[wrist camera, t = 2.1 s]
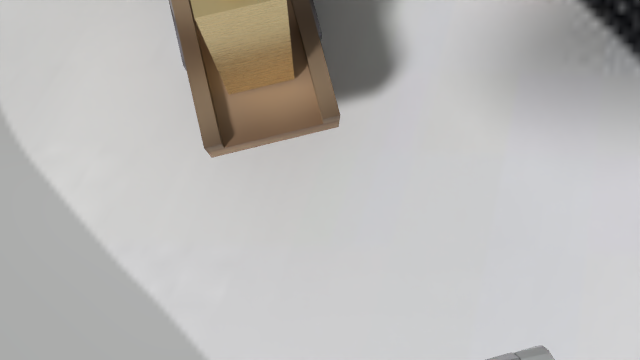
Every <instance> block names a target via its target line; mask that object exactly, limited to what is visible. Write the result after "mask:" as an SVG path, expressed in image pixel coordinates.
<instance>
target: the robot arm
mask: <svg viewBox="0 0 640 360" xmlns="http://www.w3.org/2000/svg"><path fill="white" fill-rule="evenodd" d="M487 360H554V358H553V356H552V355H551V353H550V352H549V350H547V349H546V348H545V347H544V346H540V345H539V346H535V347H532V348H528V349H525V350H521V351H518V352H514V353H512V352H511V353H507V354H504V355H500V356H497V357H493V358H490V359H487Z"/></svg>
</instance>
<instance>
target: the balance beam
mask: <svg viewBox="0 0 640 360" xmlns="http://www.w3.org/2000/svg"><path fill="white" fill-rule="evenodd" d="M169 3H170V8H171V12H172V17H173V21H174V26H175V30H176V35H177V39H178V44H179V48H180V53H181V57H182V62H183V66H184V67H185V69H186V71H187V74H188V78H189V83H190V87H191V91H192V96H193V100H194V105H195V109H196V114H197V118H198V123H199V127H200V132H201V136H202V141H203V145H204V148H205V150H206V151H207V152H208V153H209V155H210V156H211V157H216V156H220V155H224V154H229V153H233V152H237V151H241V150H245V149H249V148H253V147H257V146H261V145H265V144H270V143H274V142H278V141H282V140H286V139H290V138H294V137H298V136H302V135H307V134H311V133H315V132H319V131H323V130H327V129H331V128H335V127H339V120H340V112H339V109H338V105H337V101H336V98H335V94H334V90H333V86H332V83H331V79H330V75H329V72H328V68H327V64H326V60H325V57H324V53H323V49H322V46H321V42H320V39H321V36H322V33H321V29H320V25H319V22H318V18H317V14H316V10H315V7H314V3H313V0H287V9H288V19H289V29H290V39H291V49H292V59H293V69H294V79H293V80H289V81H285V82H280V83H276V84H272V85H268V86H264V87H259V88H255V89H251V90H247V91H243V92H238V93H234V94H230V95H229V94H228V92H227V90H226V88H225V85H224V83H223V81H222V79H221V76H220V74H219V72H218V70H217V67H216V65H215V63H214V61H213V58H212V56H211V54H210V52H209V50H208V47H207V45H206V43H205V41H204V38H203V36H202V34H201V32H200V29H199V27H198V25H197V23H196V20H195V18H194V14H193V10H192V5H191V1H190V0H169Z"/></svg>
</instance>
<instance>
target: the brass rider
mask: <svg viewBox="0 0 640 360" xmlns="http://www.w3.org/2000/svg"><path fill="white" fill-rule="evenodd" d="M190 1H191V5H192V10H193V14H194V18H195V20H196V23H197V25H198V27H199V29H200V32H201V34H202V36H203V38H204V41H205V43H206V45H207V47H208V50H209V52H210V54H211V56H212V58H213V61H214V63H215V65H216V67H217V70H218V72H219V74H220V76H221V79H222V81H223V83H224V85H225V88H226V90H227V92H228V94H229V95H230V94H234V93H238V92H243V91H247V90H251V89H255V88H259V87H264V86H268V85H272V84H276V83H280V82H285V81H289V80H293V79H294V69H293V59H292V49H291V39H290V29H289V19H288V9H287V0H190Z"/></svg>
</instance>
